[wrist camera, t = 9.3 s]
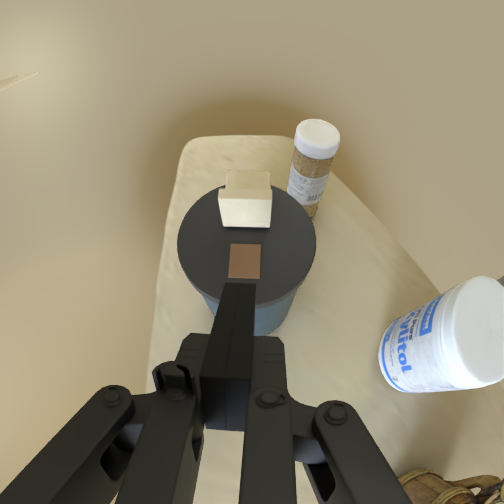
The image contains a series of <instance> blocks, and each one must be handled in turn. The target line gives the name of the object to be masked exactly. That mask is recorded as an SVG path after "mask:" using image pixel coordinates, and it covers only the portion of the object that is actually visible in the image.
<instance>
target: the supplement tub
mask: <svg viewBox="0 0 504 504" xmlns="http://www.w3.org/2000/svg"><path fill="white" fill-rule="evenodd" d="M378 357H379V364H380V368H381V371H382V373H383V375H384V377H385V379H386V380H387V382H388V383H389V384H390V385H391V386H392V387H394V388H395V389H397V390H399V391H402V392H407V393H419V392H439V391H453V390H464V389H472V388H480V387H484V386H487V385H490V384H494V383H496V382H498V381H500V380H501V379H503V378H504V287H503V286H502V285H501V284H500V283H499V282H498V281H496V280H495V279H493V278H490V277H486V276H478V277H474V278H471V279H470V280H467V281H464V282H462V283H460V284H458V285H456V286H455V287H453V288H451V289H450V290H448V291H446V292H444V293H443V294H441V295H439V296H438V297H436V298H434V299H432V300H431V301H429V302H427V303H425V304H424V305H422V306H420V307H418V308H416V309H415V310H413V311H411V312H409V313H407V314H405V315H404V316H402V317H400V318H398V319H396V320H395V321H394V322H392V323H391V324H390V325H389V327H388V328H387V329H386V331H385V332H384V334H383V336H382V339H381V342H380V346H379V355H378Z"/></svg>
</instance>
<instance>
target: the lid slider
mask: <svg viewBox="0 0 504 504" xmlns="http://www.w3.org/2000/svg"><path fill="white" fill-rule="evenodd" d="M218 202H219V207H220V213H221V218H222V223H223V226H229V227H267V228H269V227H270V222H271V210H272V190H271V172H270V171H228V172H227V179H226V188H225V189H219V194H218Z"/></svg>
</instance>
